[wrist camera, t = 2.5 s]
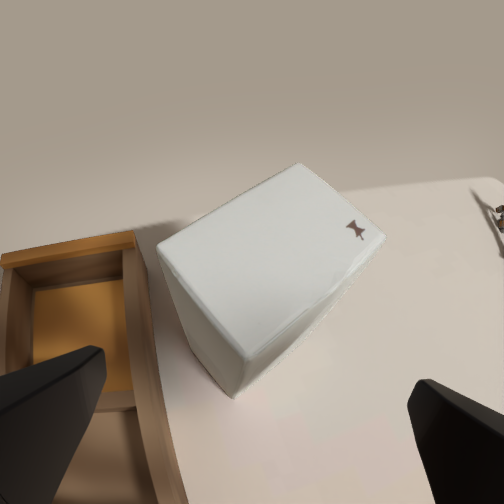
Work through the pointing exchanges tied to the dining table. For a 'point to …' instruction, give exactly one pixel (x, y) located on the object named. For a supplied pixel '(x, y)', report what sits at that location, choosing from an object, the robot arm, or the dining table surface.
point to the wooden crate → (116, 353)
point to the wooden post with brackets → (503, 221)
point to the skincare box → (264, 272)
